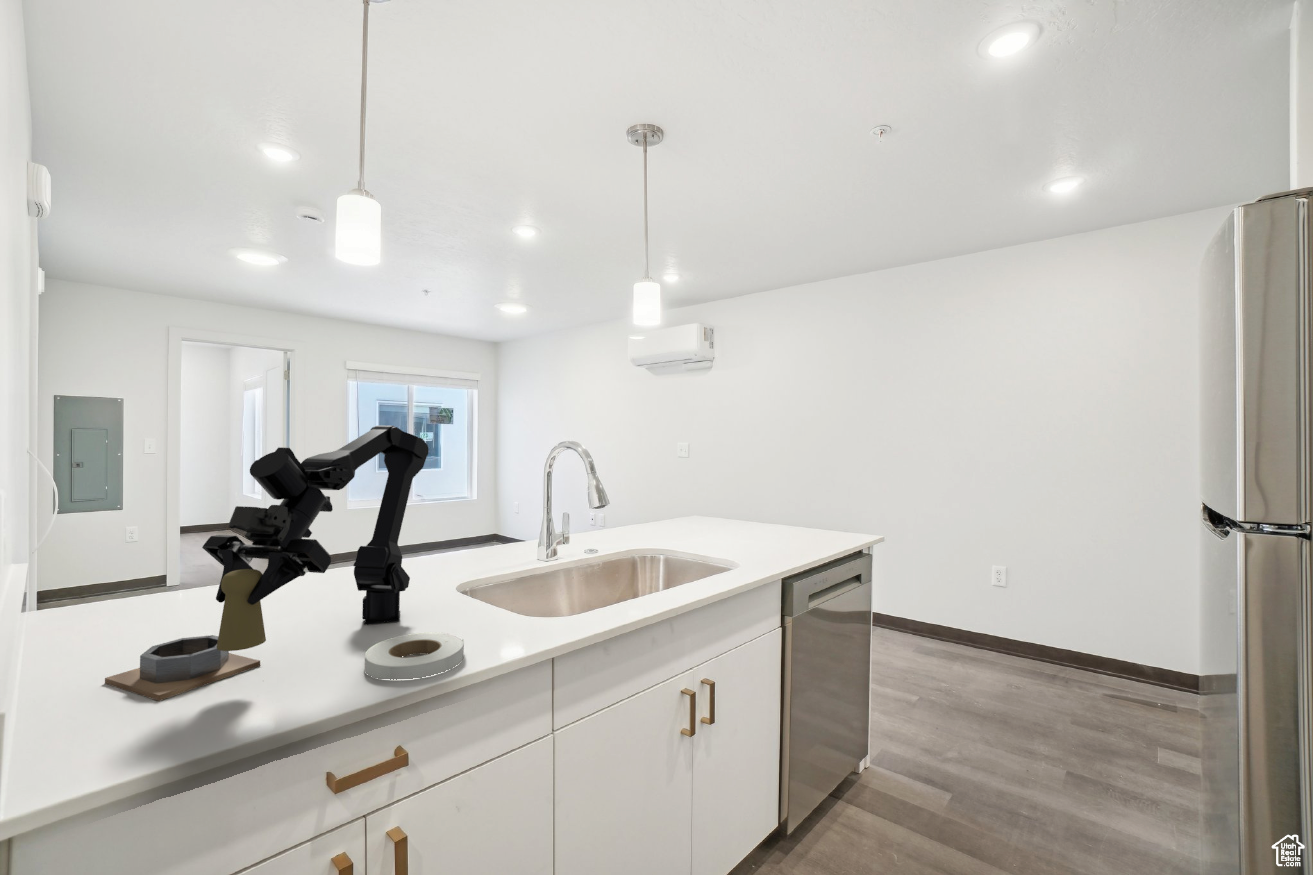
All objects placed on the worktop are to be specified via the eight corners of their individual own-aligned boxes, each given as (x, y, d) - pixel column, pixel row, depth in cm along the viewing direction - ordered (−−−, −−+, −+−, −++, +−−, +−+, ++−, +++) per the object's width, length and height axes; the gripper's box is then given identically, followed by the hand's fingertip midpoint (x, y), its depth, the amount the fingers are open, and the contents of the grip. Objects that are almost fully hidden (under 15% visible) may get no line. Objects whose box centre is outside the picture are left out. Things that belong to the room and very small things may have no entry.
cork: (275, 637, 88) (276, 566, 88) (241, 652, 82) (242, 576, 82) (241, 635, 89) (242, 564, 89) (205, 649, 83) (206, 574, 83)
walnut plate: (207, 652, 99) (207, 647, 99) (260, 665, 94) (260, 660, 94) (104, 683, 86) (104, 677, 86) (159, 700, 81) (159, 695, 81)
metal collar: (201, 653, 96) (202, 632, 96) (239, 663, 93) (240, 641, 93) (128, 675, 87) (129, 652, 87) (167, 687, 83) (167, 663, 83)
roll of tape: (387, 692, 85) (387, 673, 85) (350, 663, 96) (350, 646, 96) (480, 664, 97) (481, 647, 97) (438, 641, 107) (438, 626, 107)
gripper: (214, 484, 91) (140, 569, 80) (318, 487, 88) (257, 576, 77) (255, 526, 98) (193, 608, 88) (353, 530, 96) (301, 616, 85)
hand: (234, 602), depth 84 cm, fingers closed on cork, 5 cm apart
